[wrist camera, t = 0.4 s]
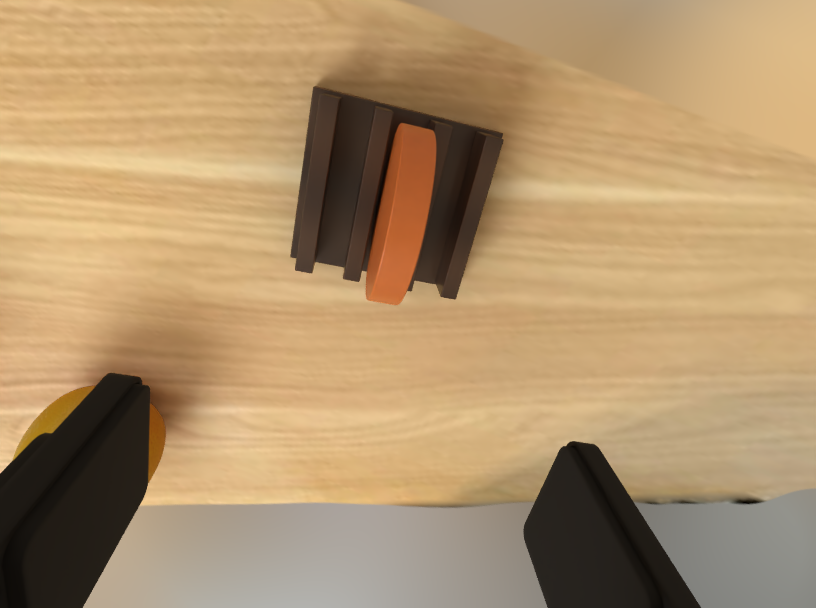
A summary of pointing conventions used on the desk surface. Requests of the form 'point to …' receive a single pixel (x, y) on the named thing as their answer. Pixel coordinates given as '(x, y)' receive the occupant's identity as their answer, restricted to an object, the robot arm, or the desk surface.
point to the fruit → (69, 402)
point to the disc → (401, 214)
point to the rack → (362, 180)
